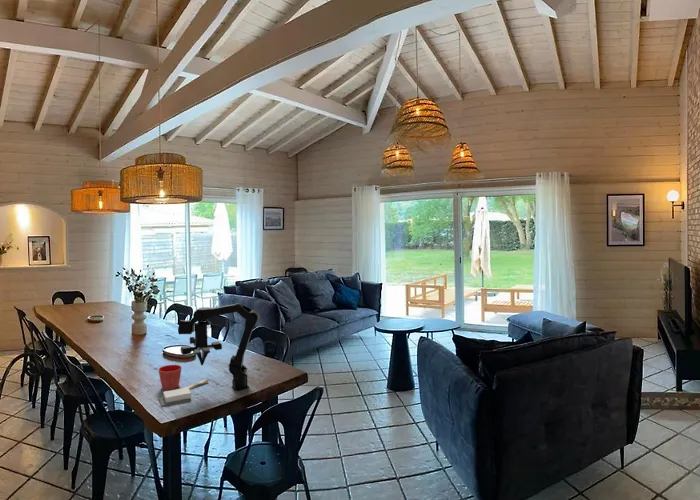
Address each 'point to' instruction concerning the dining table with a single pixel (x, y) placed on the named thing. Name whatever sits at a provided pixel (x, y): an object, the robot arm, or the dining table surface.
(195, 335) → the robot arm
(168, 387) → the flower pot
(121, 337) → the dining table surface
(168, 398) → the tile
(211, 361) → the dining table surface
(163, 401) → the mat
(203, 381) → the spatula
